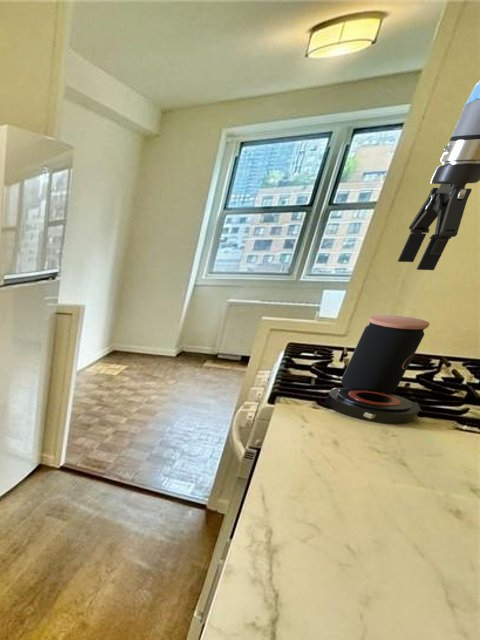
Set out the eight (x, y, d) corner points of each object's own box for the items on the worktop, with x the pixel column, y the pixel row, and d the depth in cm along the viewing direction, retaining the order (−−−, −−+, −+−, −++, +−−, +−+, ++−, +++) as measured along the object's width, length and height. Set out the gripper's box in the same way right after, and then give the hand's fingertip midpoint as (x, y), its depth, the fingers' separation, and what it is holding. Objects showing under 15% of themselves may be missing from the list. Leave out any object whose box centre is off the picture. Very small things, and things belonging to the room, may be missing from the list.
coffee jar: (398, 399, 120) (436, 327, 111) (342, 392, 125) (374, 322, 116) (388, 385, 128) (423, 317, 119) (336, 379, 133) (365, 313, 124)
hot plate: (433, 419, 110) (441, 406, 109) (378, 427, 107) (385, 415, 106) (358, 393, 124) (364, 382, 122) (308, 401, 121) (313, 389, 119)
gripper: (419, 164, 117) (378, 258, 127) (463, 162, 98) (411, 272, 108) (463, 163, 113) (417, 259, 124) (517, 160, 95) (458, 274, 105)
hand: (414, 265), depth 116 cm, fingers open, 13 cm apart
